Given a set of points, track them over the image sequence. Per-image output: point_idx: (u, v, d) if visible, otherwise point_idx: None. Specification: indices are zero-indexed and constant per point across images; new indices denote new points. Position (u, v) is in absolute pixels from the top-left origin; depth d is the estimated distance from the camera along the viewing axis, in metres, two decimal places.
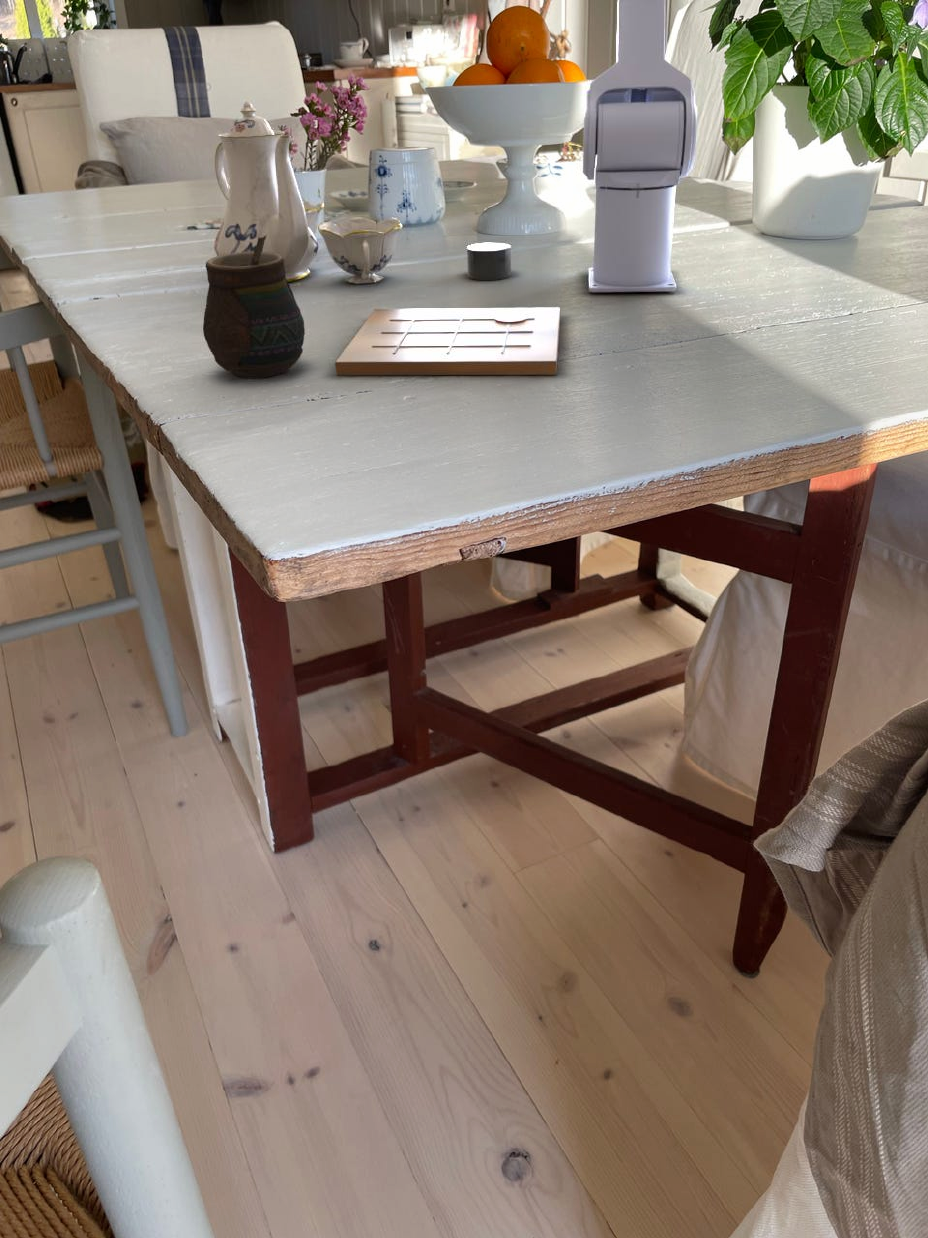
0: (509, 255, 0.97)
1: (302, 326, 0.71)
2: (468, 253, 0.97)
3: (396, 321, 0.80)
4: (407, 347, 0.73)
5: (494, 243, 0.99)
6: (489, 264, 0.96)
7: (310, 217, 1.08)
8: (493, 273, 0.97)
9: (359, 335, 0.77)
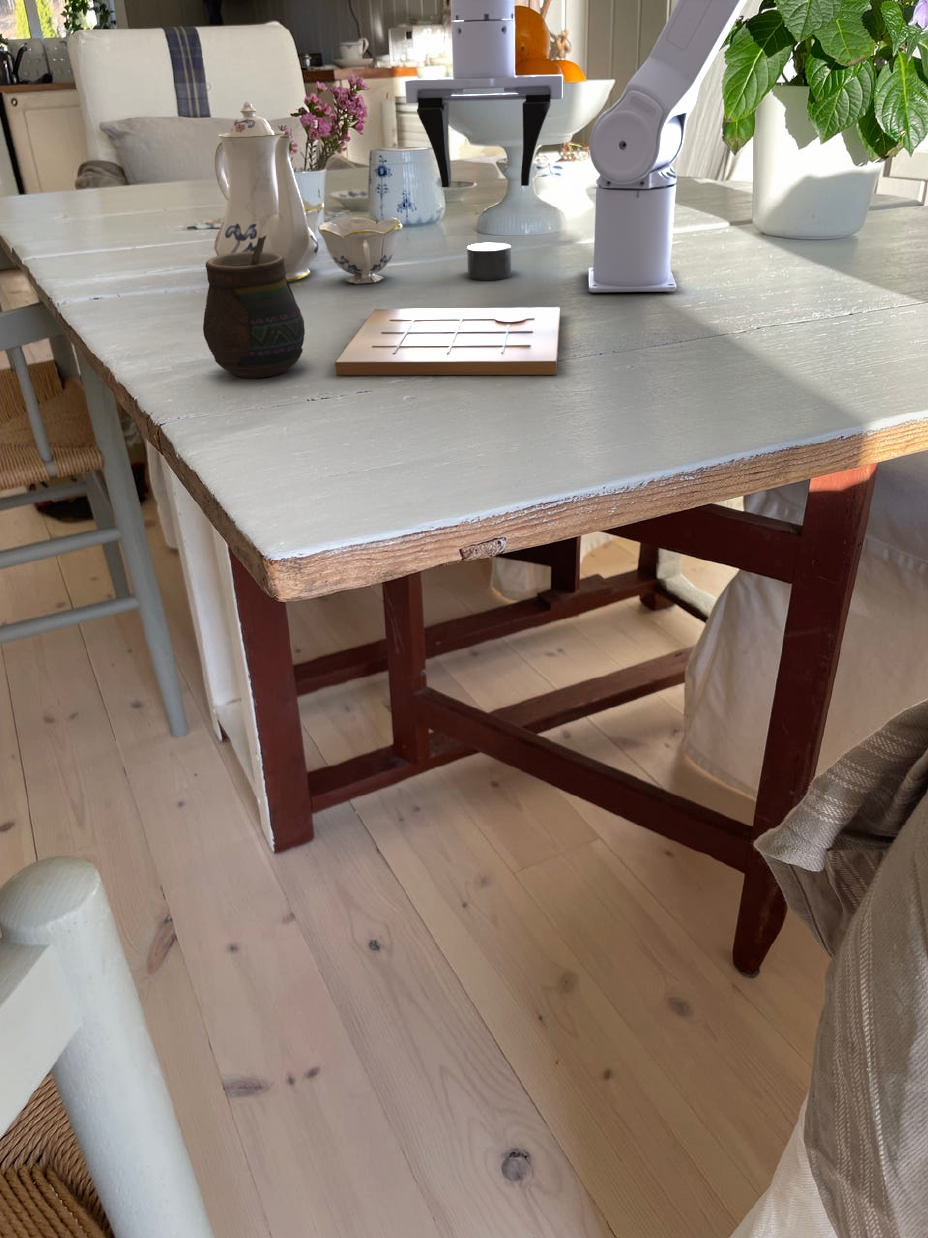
0: (509, 255, 0.97)
1: (302, 326, 0.71)
2: (468, 253, 0.97)
3: (396, 321, 0.80)
4: (407, 347, 0.73)
5: (494, 243, 0.99)
6: (489, 264, 0.96)
7: (310, 217, 1.08)
8: (493, 273, 0.97)
9: (359, 335, 0.77)
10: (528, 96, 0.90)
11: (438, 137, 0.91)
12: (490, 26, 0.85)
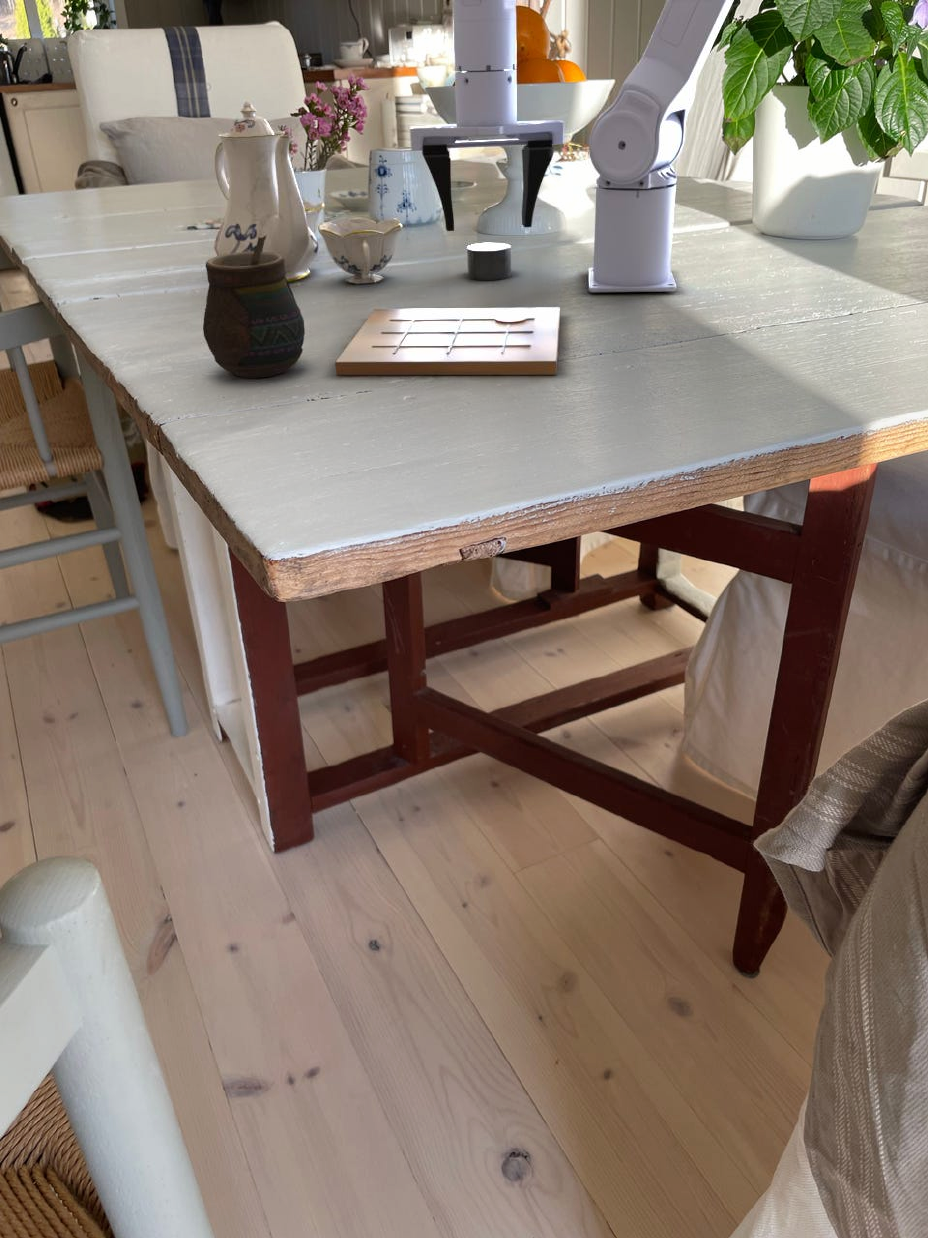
0: (509, 255, 0.97)
1: (302, 326, 0.71)
2: (468, 253, 0.97)
3: (396, 321, 0.80)
4: (407, 347, 0.73)
5: (494, 243, 0.99)
6: (489, 264, 0.96)
7: (310, 217, 1.08)
8: (493, 273, 0.97)
9: (359, 335, 0.77)
10: (531, 142, 0.92)
11: (445, 183, 0.93)
12: (498, 76, 0.88)
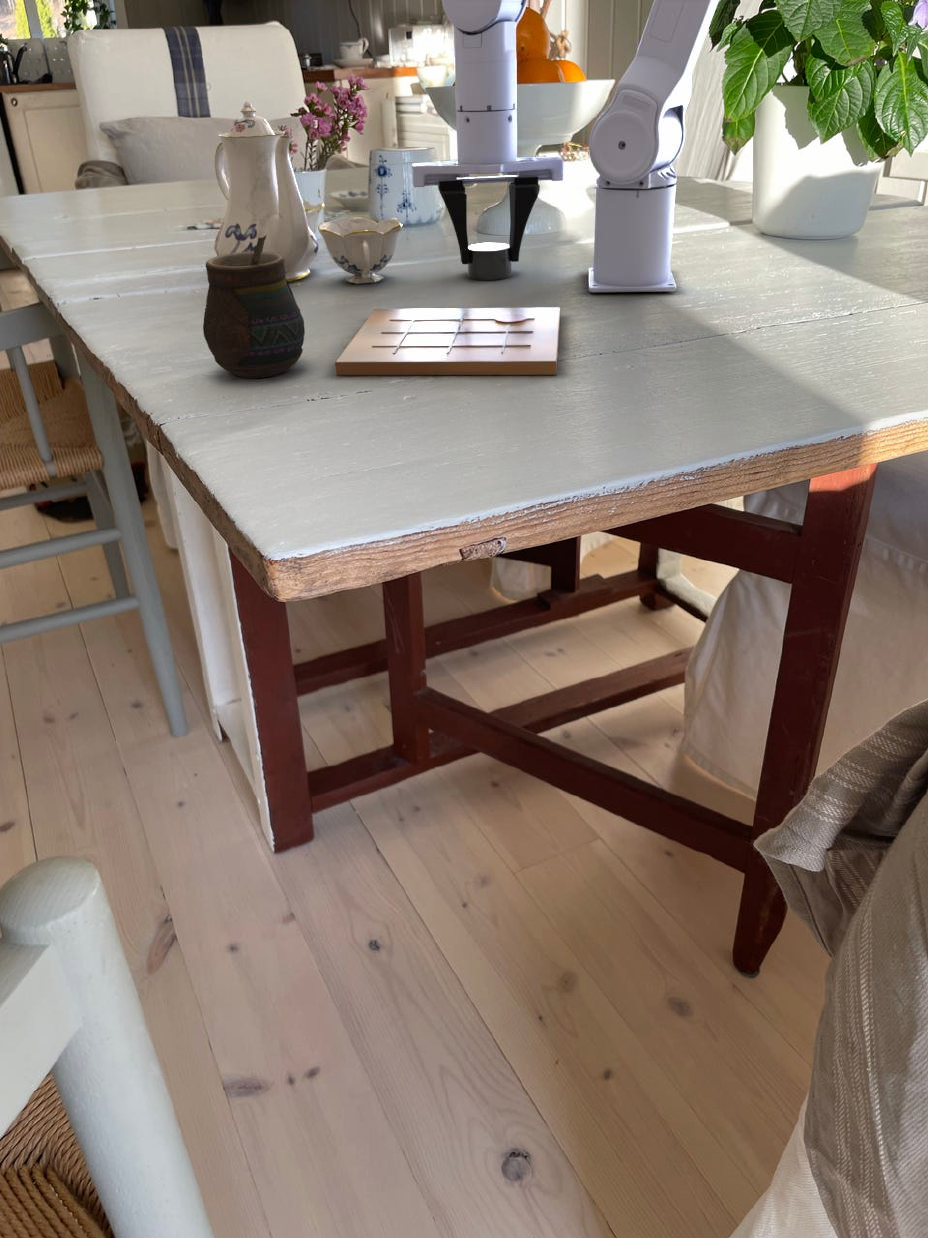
0: (509, 255, 0.97)
1: (302, 326, 0.71)
2: None
3: (396, 321, 0.80)
4: (407, 347, 0.73)
5: (494, 243, 0.99)
6: (489, 264, 0.96)
7: (310, 217, 1.08)
8: (493, 273, 0.97)
9: (359, 335, 0.77)
10: (518, 179, 0.94)
11: (461, 218, 0.94)
12: (498, 116, 0.89)
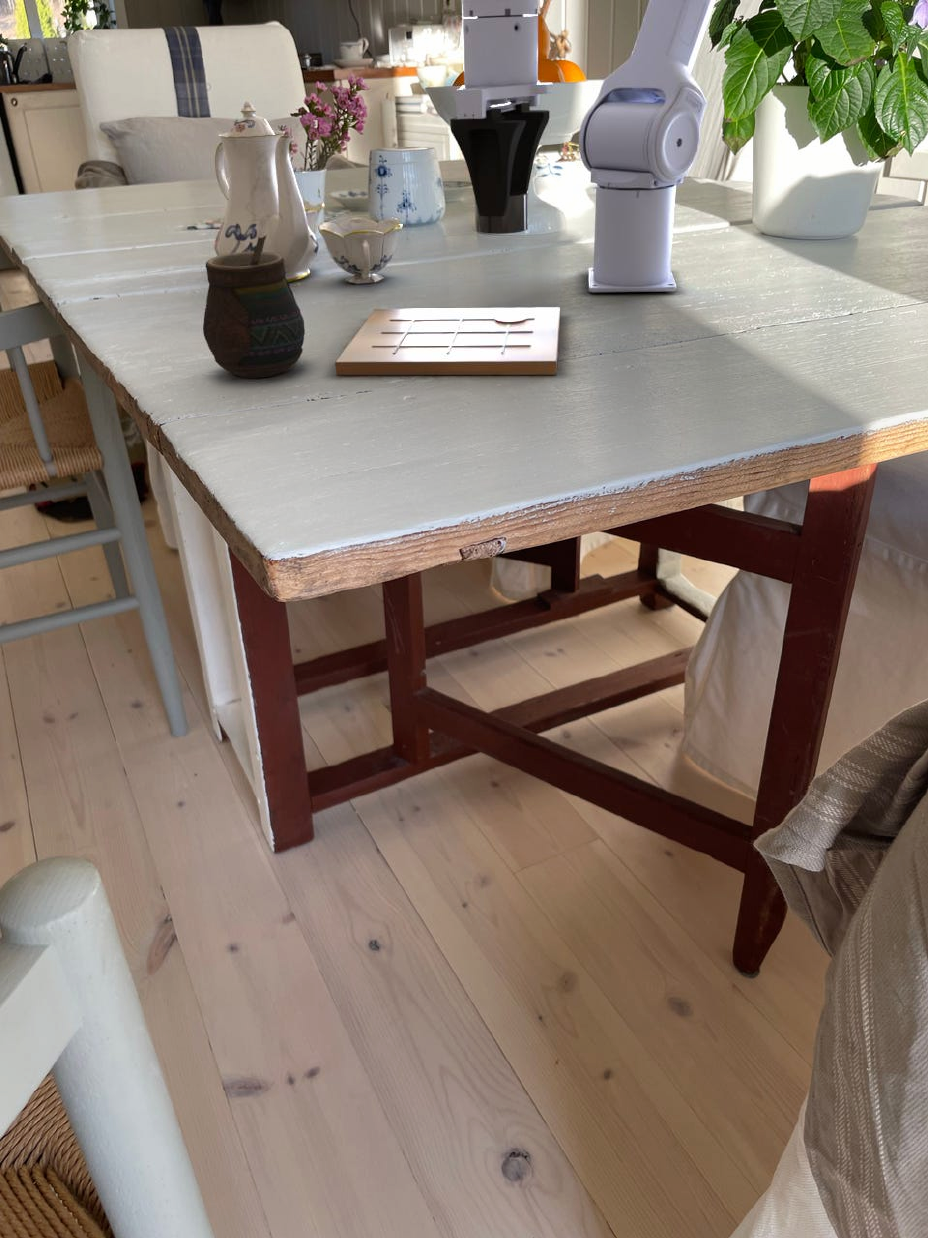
0: None
1: (302, 326, 0.71)
2: None
3: (396, 321, 0.80)
4: (407, 347, 0.73)
5: None
6: (526, 210, 0.79)
7: (310, 217, 1.08)
8: (527, 221, 0.80)
9: (359, 335, 0.77)
10: (522, 106, 0.78)
11: (512, 155, 0.75)
12: None
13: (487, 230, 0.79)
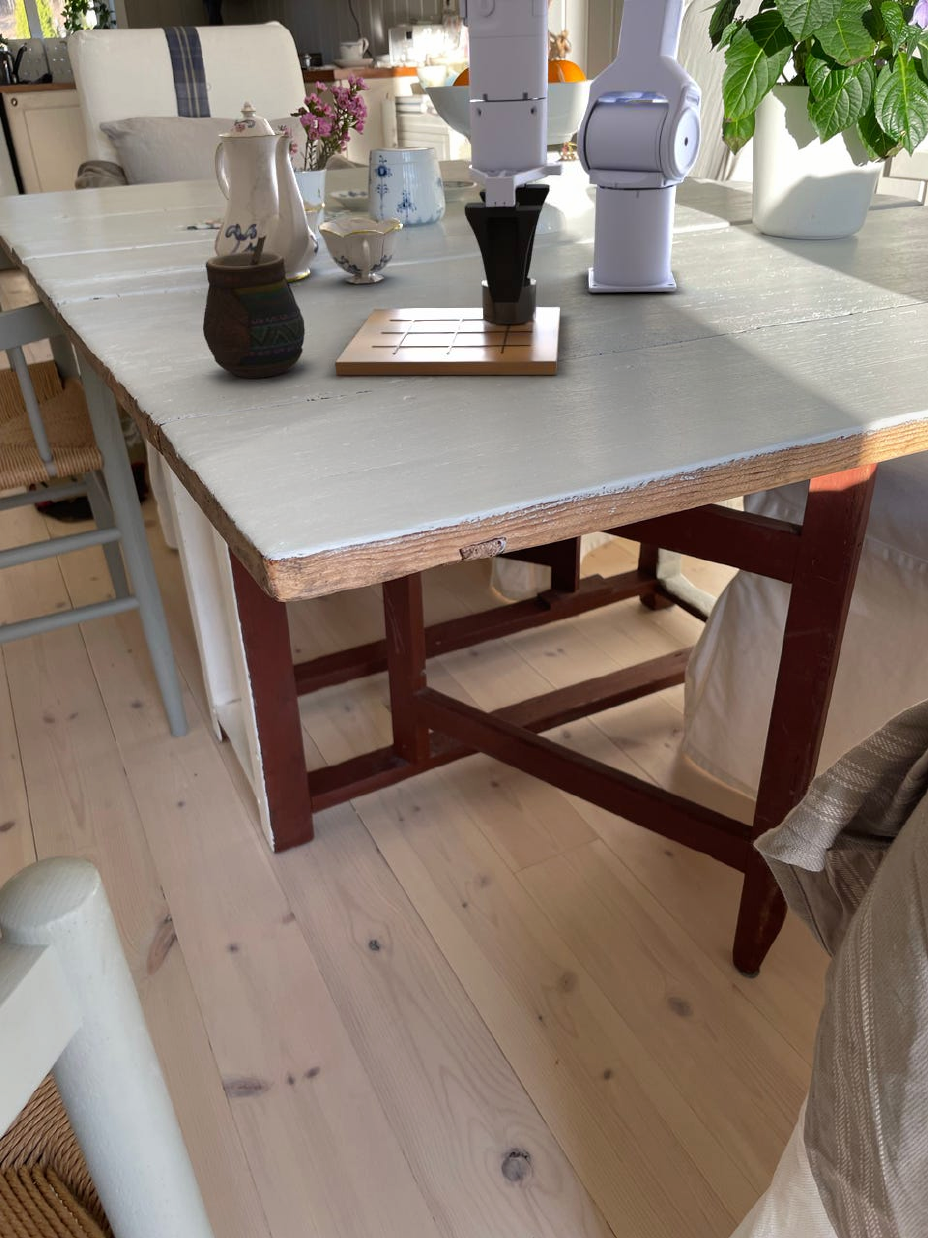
0: None
1: (302, 326, 0.71)
2: None
3: (396, 321, 0.80)
4: (407, 347, 0.73)
5: None
6: None
7: (310, 217, 1.08)
8: None
9: (359, 335, 0.77)
10: None
11: (529, 241, 0.72)
12: None
13: (500, 321, 0.77)
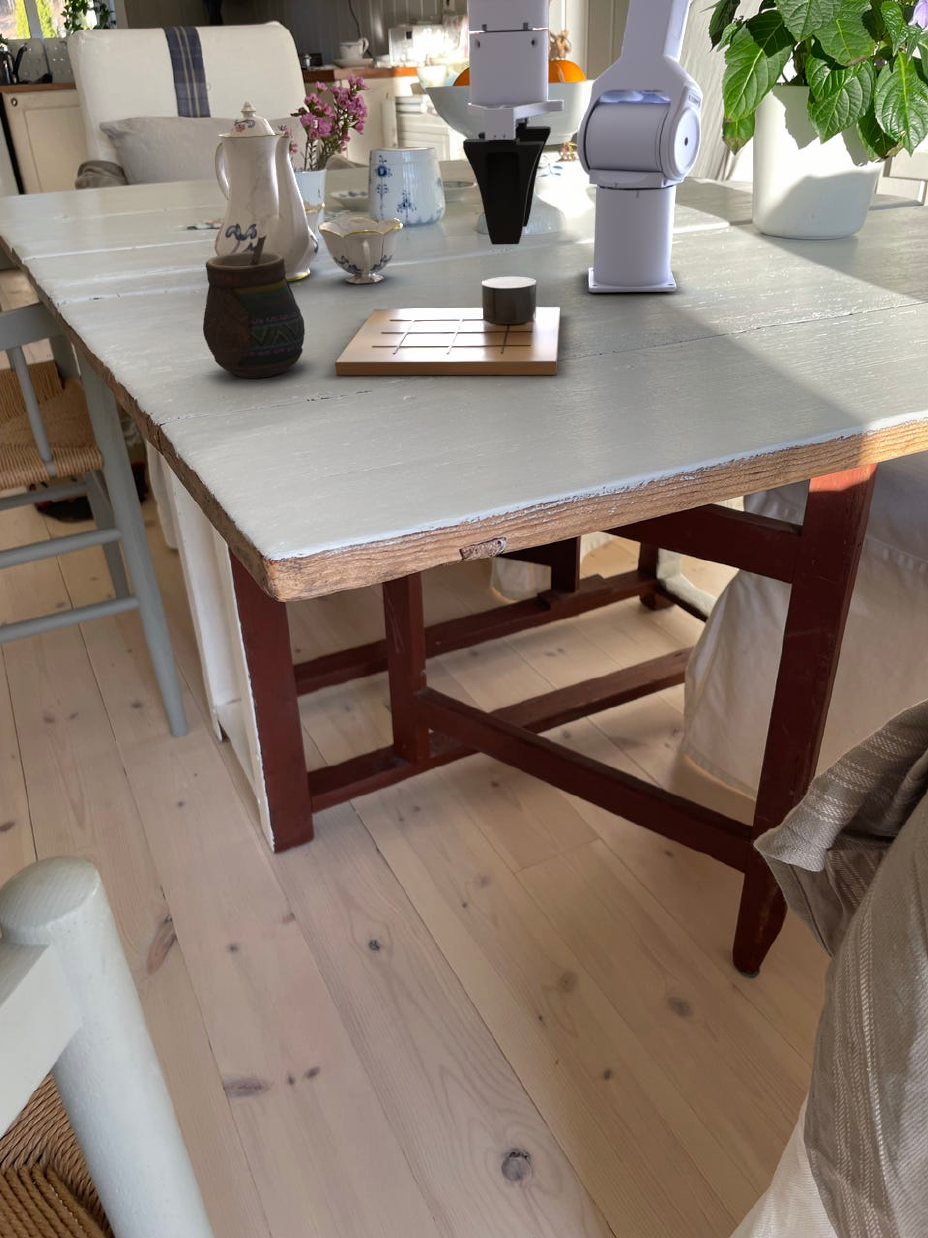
0: None
1: (302, 326, 0.71)
2: (513, 294, 0.76)
3: (396, 321, 0.80)
4: (407, 347, 0.73)
5: (490, 280, 0.79)
6: None
7: (310, 217, 1.08)
8: None
9: (359, 335, 0.77)
10: (525, 122, 0.76)
11: (530, 179, 0.70)
12: None
13: (500, 321, 0.77)
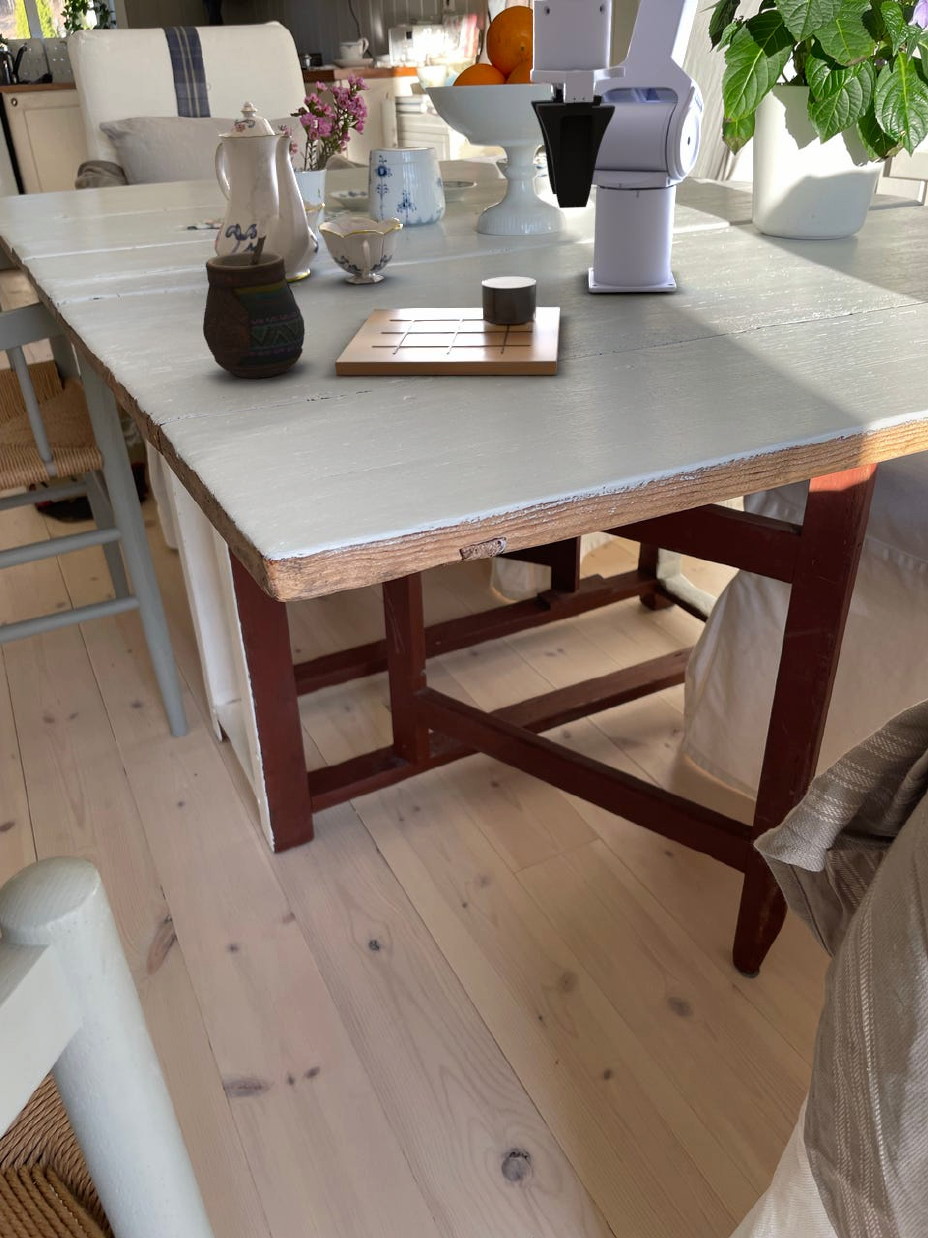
0: None
1: (302, 326, 0.71)
2: (513, 294, 0.76)
3: (396, 321, 0.80)
4: (407, 347, 0.73)
5: (490, 280, 0.79)
6: None
7: (310, 217, 1.08)
8: None
9: (359, 335, 0.77)
10: None
11: None
12: None
13: (500, 321, 0.77)
